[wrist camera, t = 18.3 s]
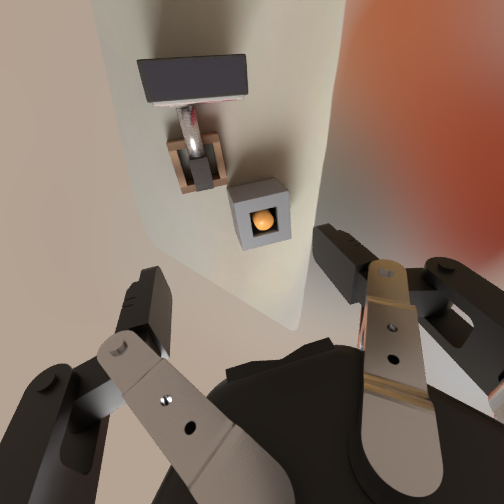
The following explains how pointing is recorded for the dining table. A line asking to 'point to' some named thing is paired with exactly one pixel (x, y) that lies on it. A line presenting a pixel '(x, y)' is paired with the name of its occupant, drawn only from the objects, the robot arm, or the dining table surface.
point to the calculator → (194, 79)
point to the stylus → (195, 148)
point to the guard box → (258, 199)
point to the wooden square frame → (173, 151)
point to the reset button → (262, 219)
